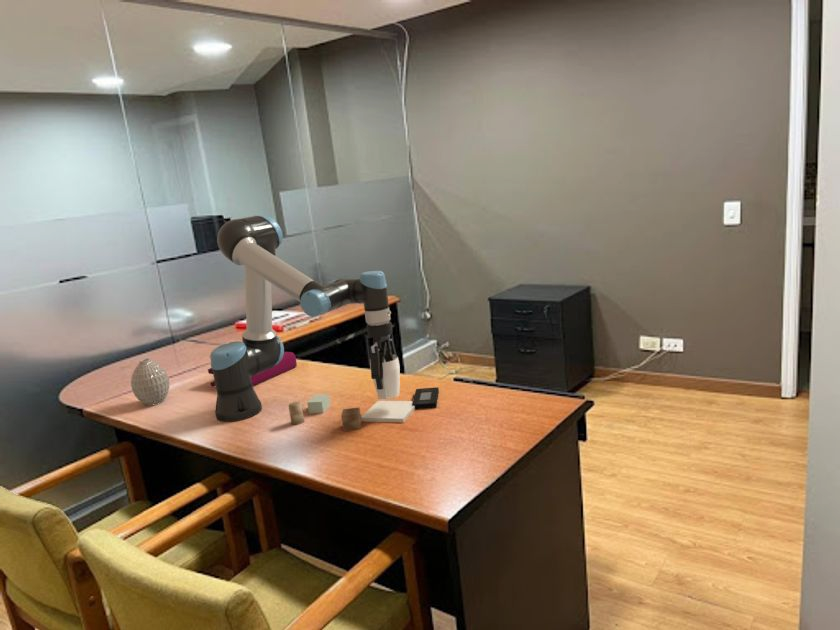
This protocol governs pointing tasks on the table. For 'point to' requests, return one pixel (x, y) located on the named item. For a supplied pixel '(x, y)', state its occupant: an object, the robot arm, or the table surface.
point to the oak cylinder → (296, 413)
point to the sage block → (318, 403)
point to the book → (283, 366)
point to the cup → (391, 377)
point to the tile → (389, 411)
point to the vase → (150, 382)
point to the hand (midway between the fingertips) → (388, 392)
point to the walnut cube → (351, 419)
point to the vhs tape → (425, 398)
